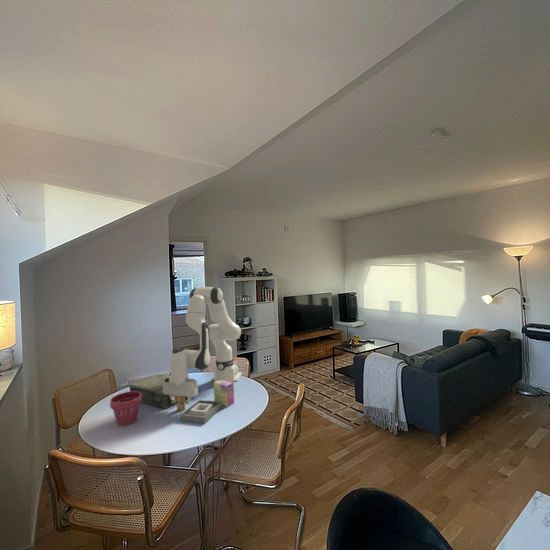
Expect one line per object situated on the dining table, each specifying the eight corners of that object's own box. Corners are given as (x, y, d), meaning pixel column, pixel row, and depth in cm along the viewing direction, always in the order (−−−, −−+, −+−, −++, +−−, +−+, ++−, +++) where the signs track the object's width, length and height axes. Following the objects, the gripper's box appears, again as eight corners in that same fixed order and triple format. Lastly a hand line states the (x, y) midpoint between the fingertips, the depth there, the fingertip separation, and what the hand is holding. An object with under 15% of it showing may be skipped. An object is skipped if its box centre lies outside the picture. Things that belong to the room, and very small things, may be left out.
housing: (199, 405, 162) (199, 398, 162) (221, 407, 158) (221, 400, 158) (180, 420, 145) (180, 413, 145) (205, 423, 141) (204, 416, 141)
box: (234, 403, 163) (233, 382, 163) (227, 407, 158) (226, 385, 158) (221, 399, 169) (220, 379, 169) (214, 403, 164) (213, 382, 164)
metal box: (164, 411, 158) (163, 392, 158) (128, 400, 174) (127, 383, 174) (193, 396, 176) (192, 379, 176) (158, 387, 192) (157, 372, 192)
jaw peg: (180, 407, 160) (179, 393, 160) (186, 408, 159) (185, 393, 159) (175, 411, 156) (175, 396, 156) (182, 411, 155) (181, 396, 155)
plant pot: (104, 428, 141) (103, 402, 141) (123, 414, 155) (122, 390, 155) (131, 429, 139) (130, 402, 139) (148, 415, 153) (147, 391, 153)
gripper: (199, 377, 158) (200, 402, 158) (167, 375, 163) (168, 399, 163) (193, 381, 152) (194, 407, 152) (160, 378, 157) (161, 404, 157)
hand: (180, 403), depth 158 cm, fingers open, 7 cm apart
